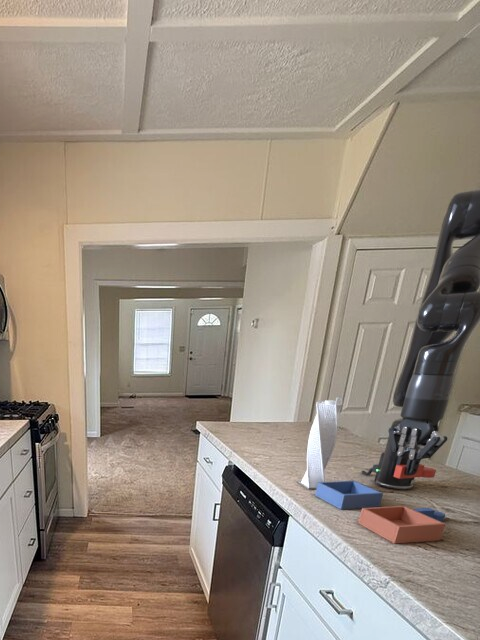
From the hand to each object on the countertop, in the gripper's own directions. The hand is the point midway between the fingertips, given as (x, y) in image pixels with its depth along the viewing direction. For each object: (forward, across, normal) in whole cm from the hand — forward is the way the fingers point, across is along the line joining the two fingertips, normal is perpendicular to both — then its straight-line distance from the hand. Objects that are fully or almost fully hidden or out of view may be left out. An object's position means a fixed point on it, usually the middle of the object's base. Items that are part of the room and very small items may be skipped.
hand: (404, 473), depth 93 cm
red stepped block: (+1, 0, -2) cm, 2 cm away
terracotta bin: (+14, -3, 0) cm, 14 cm away
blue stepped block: (+13, +3, -12) cm, 18 cm away
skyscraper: (+13, +31, -1) cm, 34 cm away
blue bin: (+13, +18, -2) cm, 22 cm away
